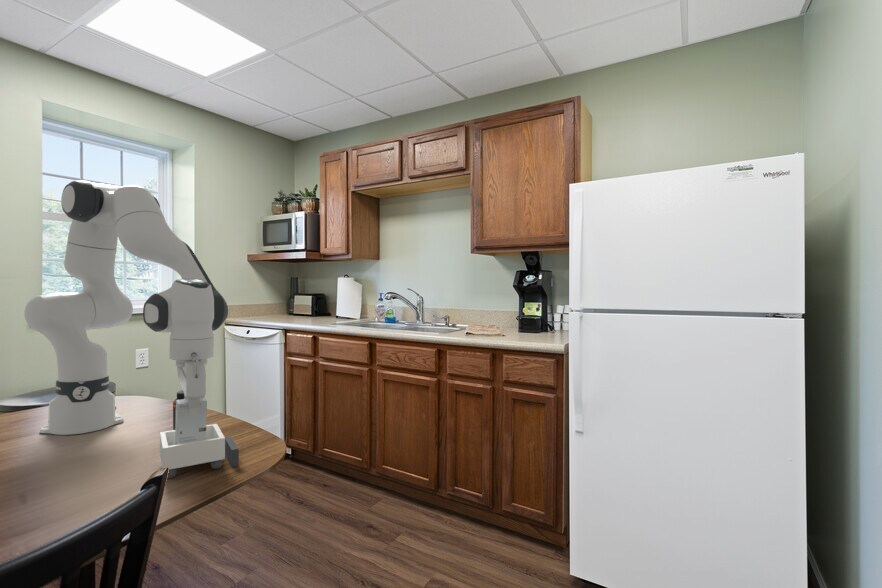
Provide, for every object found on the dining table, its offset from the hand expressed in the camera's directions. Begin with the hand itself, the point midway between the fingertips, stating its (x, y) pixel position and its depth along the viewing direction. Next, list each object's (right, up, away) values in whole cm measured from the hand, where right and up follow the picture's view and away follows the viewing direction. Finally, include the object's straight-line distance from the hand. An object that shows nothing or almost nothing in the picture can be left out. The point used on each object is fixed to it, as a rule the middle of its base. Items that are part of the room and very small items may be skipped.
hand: (191, 409), depth 103 cm
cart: (0, -13, 0) cm, 13 cm away
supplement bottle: (-15, -13, +25) cm, 32 cm away
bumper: (+7, -13, +5) cm, 16 cm away
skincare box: (0, -10, 0) cm, 10 cm away
